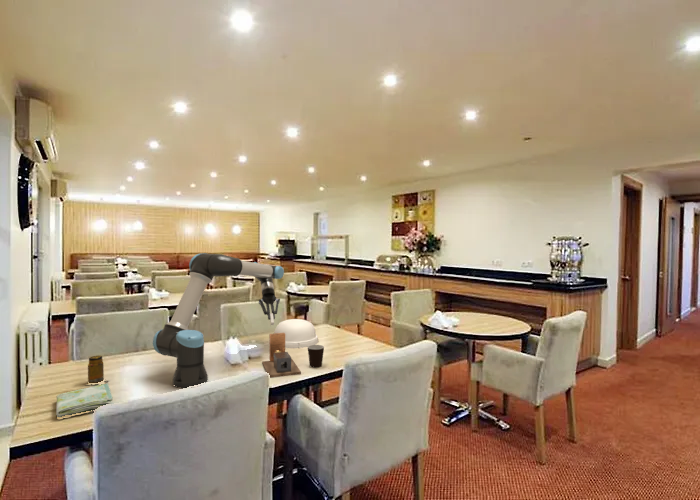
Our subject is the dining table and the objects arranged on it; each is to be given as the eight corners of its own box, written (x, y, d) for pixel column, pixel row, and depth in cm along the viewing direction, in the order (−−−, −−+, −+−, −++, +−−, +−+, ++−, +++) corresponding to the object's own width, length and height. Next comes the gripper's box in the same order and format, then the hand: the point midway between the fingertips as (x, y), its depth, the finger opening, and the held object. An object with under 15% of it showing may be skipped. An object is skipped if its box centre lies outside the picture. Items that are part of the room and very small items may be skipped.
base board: (268, 377, 191) (268, 375, 191) (262, 363, 211) (262, 361, 211) (301, 374, 196) (301, 371, 196) (291, 360, 217) (291, 358, 217)
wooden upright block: (274, 368, 199) (274, 341, 198) (269, 359, 214) (269, 333, 213) (290, 367, 201) (290, 340, 201) (284, 357, 216) (284, 332, 216)
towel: (55, 422, 145) (55, 409, 144) (56, 402, 162) (56, 390, 162) (113, 410, 155) (113, 397, 155) (108, 392, 172) (108, 381, 172)
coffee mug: (321, 369, 204) (321, 349, 203) (305, 367, 206) (305, 348, 205) (327, 362, 215) (327, 343, 215) (311, 360, 217) (312, 342, 217)
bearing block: (277, 372, 194) (277, 358, 194) (273, 366, 203) (273, 353, 203) (291, 371, 197) (291, 357, 196) (287, 365, 206) (287, 351, 206)
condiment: (92, 380, 186) (92, 354, 185) (111, 379, 187) (111, 354, 186) (83, 386, 178) (83, 359, 178) (103, 385, 179) (103, 359, 179)
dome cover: (269, 337, 267) (269, 316, 266) (312, 334, 275) (312, 314, 275) (274, 350, 236) (274, 327, 236) (323, 347, 245) (323, 324, 244)
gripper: (277, 294, 248) (282, 326, 233) (256, 295, 244) (260, 328, 229) (279, 286, 243) (284, 319, 228) (257, 287, 239) (261, 320, 224)
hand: (272, 323), depth 228 cm, fingers closed
